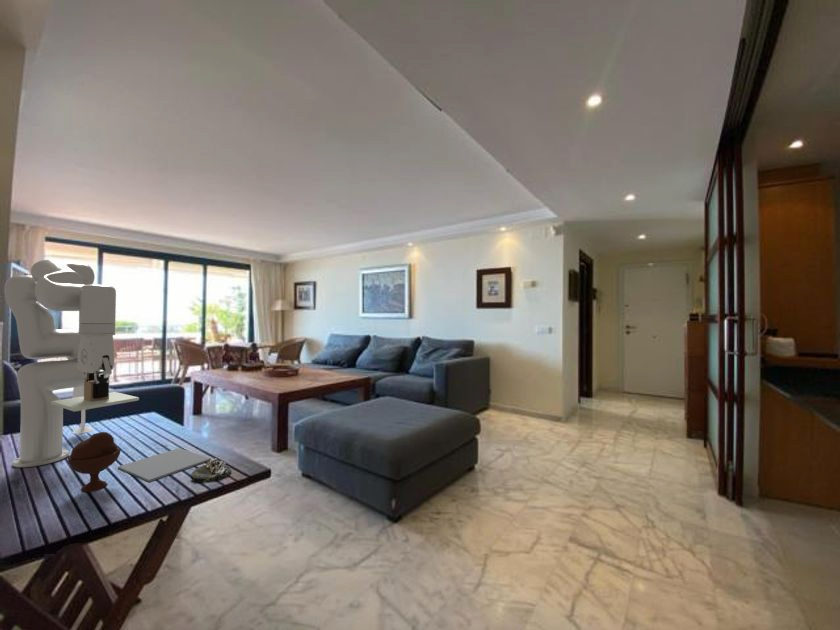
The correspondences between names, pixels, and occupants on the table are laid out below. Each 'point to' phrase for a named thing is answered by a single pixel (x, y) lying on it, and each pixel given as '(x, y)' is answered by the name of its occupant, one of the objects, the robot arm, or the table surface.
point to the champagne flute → (80, 393)
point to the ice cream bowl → (94, 458)
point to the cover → (90, 402)
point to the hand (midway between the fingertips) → (96, 395)
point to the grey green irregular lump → (211, 472)
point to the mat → (163, 464)
